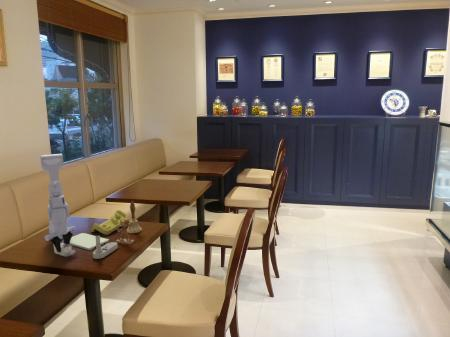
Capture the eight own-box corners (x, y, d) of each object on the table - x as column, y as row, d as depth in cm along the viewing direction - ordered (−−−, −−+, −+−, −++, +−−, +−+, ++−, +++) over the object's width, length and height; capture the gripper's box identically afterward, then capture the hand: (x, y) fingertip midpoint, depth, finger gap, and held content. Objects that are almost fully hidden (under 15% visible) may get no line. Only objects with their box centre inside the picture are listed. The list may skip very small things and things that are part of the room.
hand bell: (128, 227, 203) (126, 199, 200) (143, 227, 203) (141, 199, 200) (124, 233, 195) (121, 204, 192) (139, 233, 195) (137, 203, 192)
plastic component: (107, 231, 192) (92, 222, 194) (104, 242, 195) (89, 233, 198) (131, 217, 210) (117, 208, 212) (127, 227, 213) (114, 218, 215)
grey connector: (52, 252, 174) (51, 244, 173) (59, 249, 177) (58, 241, 176) (70, 258, 167) (69, 249, 166) (77, 255, 170) (76, 246, 169)
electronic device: (118, 228, 177) (99, 238, 163) (120, 247, 178) (100, 260, 164) (108, 227, 178) (88, 238, 164) (110, 246, 180) (90, 259, 166)
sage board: (62, 242, 185) (62, 240, 185) (82, 234, 195) (82, 232, 195) (89, 250, 175) (88, 248, 175) (109, 241, 185) (109, 239, 185)
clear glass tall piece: (115, 242, 183) (113, 219, 181) (120, 239, 187) (118, 216, 184) (130, 244, 180) (128, 221, 178) (135, 241, 183) (133, 218, 181)
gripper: (50, 228, 161) (54, 257, 164) (78, 218, 173) (81, 246, 176) (40, 225, 165) (44, 254, 168) (69, 216, 177) (72, 243, 180)
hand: (63, 250), depth 172 cm, fingers closed on grey connector, 4 cm apart
